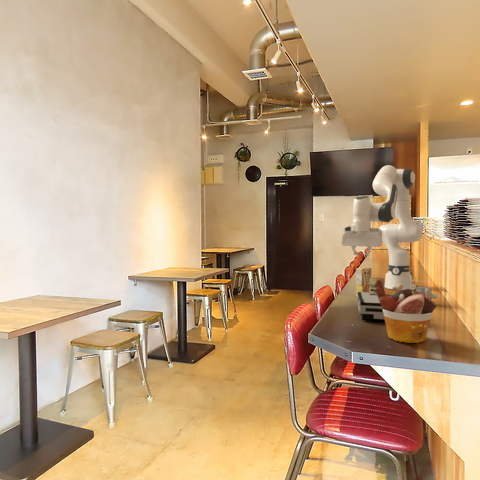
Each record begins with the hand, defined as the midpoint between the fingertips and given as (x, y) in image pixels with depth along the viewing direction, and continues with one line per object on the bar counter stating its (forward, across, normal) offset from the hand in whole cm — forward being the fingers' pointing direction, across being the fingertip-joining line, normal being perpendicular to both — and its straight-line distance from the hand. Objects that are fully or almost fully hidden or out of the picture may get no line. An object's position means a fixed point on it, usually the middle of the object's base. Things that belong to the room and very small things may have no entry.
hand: (361, 255), depth 201 cm
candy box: (+23, +3, -12) cm, 26 cm away
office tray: (+24, -19, +25) cm, 40 cm away
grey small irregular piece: (+23, -28, -8) cm, 37 cm away
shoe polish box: (+23, -8, 0) cm, 25 cm away
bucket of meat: (+23, -36, +58) cm, 72 cm away
